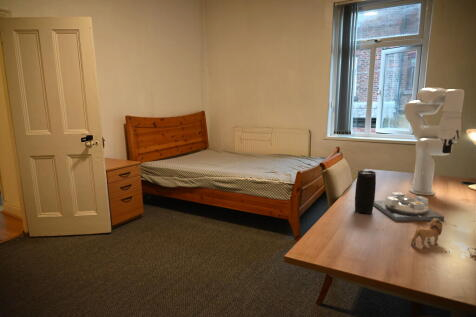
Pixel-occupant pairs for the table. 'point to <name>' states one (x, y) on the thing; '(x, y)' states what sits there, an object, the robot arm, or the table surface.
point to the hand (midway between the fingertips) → (446, 153)
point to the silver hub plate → (407, 204)
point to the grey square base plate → (407, 217)
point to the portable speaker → (365, 191)
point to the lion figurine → (428, 232)
